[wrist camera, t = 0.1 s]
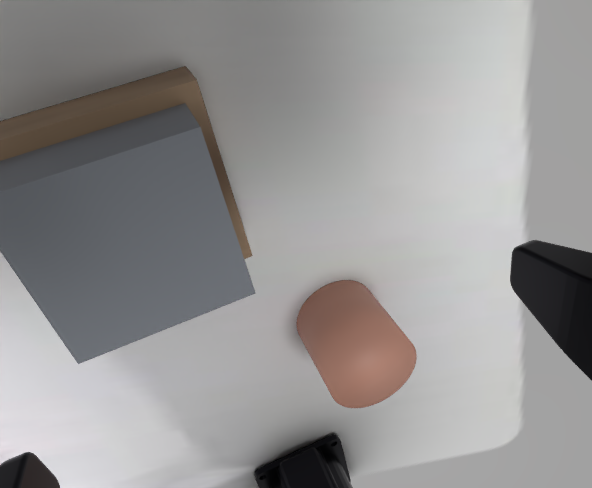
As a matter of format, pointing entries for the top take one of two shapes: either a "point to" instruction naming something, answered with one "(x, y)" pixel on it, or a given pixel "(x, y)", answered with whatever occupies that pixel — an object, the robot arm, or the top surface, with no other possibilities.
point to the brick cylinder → (355, 344)
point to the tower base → (114, 110)
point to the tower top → (121, 231)
